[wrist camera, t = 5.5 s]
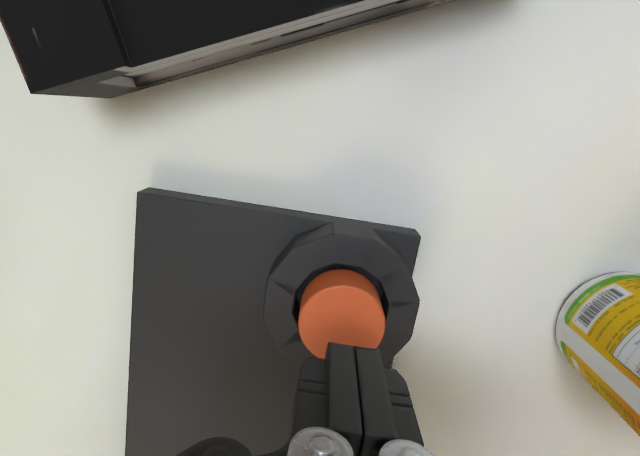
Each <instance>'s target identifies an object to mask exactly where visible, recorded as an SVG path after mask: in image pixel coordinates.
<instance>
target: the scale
mask: <svg viewBox="0 0 640 456" xmlns="http://www.w3.org/2000/svg"><path fill="white" fill-rule="evenodd" d="M420 239H421V236H420V235H419V234H418V232H417V231H416V230H415V229H410V228H404V227H397V226H391V225H385V224H378V223H372V222H365V221H359V220H353V219H346V218H340V217H334V216H327V215H321V214H314V213H308V212H302V211H295V210H289V209H283V208H276V207H270V206H264V205H257V204H251V203H244V202H238V201H232V200H225V199H219V198H213V197H206V196H200V195H193V194H187V193H181V192H174V191H168V190H162V189H155V188H146V189H144V190H142V191H139V192H138V193H137V207H136V229H135V251H134V272H133V294H132V316H131V338H130V360H129V381H128V403H127V425H126V447H125V456H176V455H178V454H179V453H181V452H183V451H184V450H186V449H188V448H189V447H191V446H193V445H194V444H196V443H198V442H200V441H202V440H205V439H208V438H213V437H226V438H231V439H234V440H237V441H239V442H240V443H242V444H243V445H245V446H246V447H247V448H248V450H249V451H250V453H251V455H252V456H255V455H263V454H268V453H271V452H274V451H276V450H278V449H280V448H282V447H283V446H284V445H285V444H286V443H287V442H288V441H289V437H290V428H291V420H292V411H293V405H294V399H295V394H296V388H297V382H298V376H299V370H300V366H301V364H302V363H303V362H304V361H305V360H306V359H307V358H308V357H316V356H315V355H314V354H312V353H311V352H310V351H309V350H308V349H307V348H306V346H305V345H304V343H303V341H302V340H301V337H300V334H299V329H298V320H299V312H300V305H301V299H302V295H303V292H304V290H305V288H306V287H307V285H308V284H309V283H310V282H311V281H312V280H313V279H314V278H315V277H317V276H318V275H320V274H322V273H324V272H326V271H330V270H335V269H347V270H352V271H355V272H357V273H359V274H361V275H363V276H365V277H366V278H367V279H368V280H369V281H370V282H371V283H372V284H373V285H374V287H375V288H376V290H377V292H378V295H379V298H380V302H381V305H382V309H383V312H384V316H385V332H384V336H383V338H382V340H381V342H380V344H379V345H378V347H377V348H376V349H379V350H380V353H381V357H382V362H383V367H384V368H388V369H391V366H392V361H393V357H394V356H395V355H396V354H397V353H398V352H399V351H400V350H401V348H402V347H403V346H404V345H405V344H406V343H407V342H408V341H409V340H410V339H411V336H412V333H413V329H414V325H415V320H416V316H417V312H418V308H419V304H420V303H419V301H420V299H419V297H418V294H417V291H416V288H415V285H414V282H413V279H412V274H413V270H414V266H415V261H416V257H417V252H418V248H419V244H420ZM316 358H318V357H316Z"/></svg>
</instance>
